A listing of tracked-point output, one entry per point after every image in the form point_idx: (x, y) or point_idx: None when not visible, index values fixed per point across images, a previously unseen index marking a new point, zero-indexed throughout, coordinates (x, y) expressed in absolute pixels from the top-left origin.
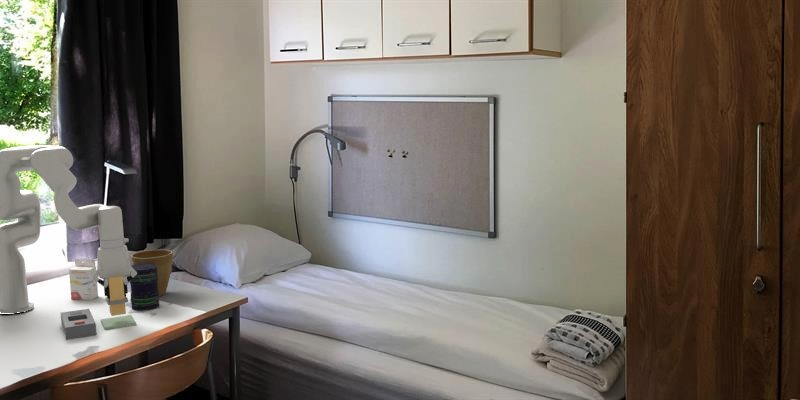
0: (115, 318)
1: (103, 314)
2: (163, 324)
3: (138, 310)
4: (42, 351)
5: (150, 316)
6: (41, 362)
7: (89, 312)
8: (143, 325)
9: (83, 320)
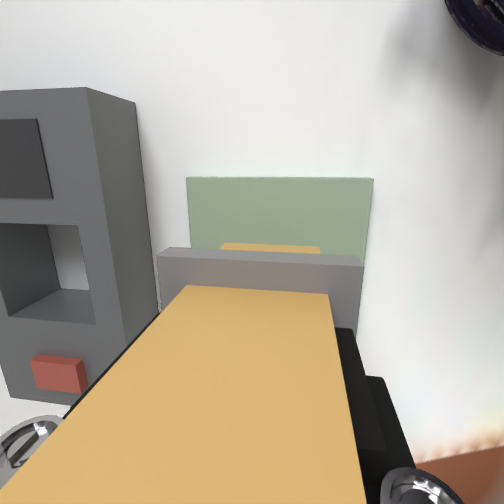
0: (267, 208)
1: (217, 3)
2: (477, 404)
3: (467, 33)
4: (2, 423)
5: (480, 229)
6: None
7: (96, 200)
8: (382, 364)
9: (73, 379)
